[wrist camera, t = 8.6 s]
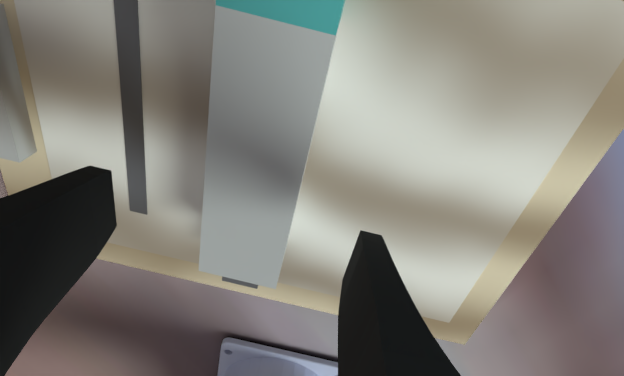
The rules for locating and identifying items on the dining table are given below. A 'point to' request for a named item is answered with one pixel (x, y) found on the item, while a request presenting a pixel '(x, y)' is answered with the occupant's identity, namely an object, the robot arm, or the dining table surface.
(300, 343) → the dining table surface
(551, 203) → the cream rectangular tray
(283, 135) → the eraser
